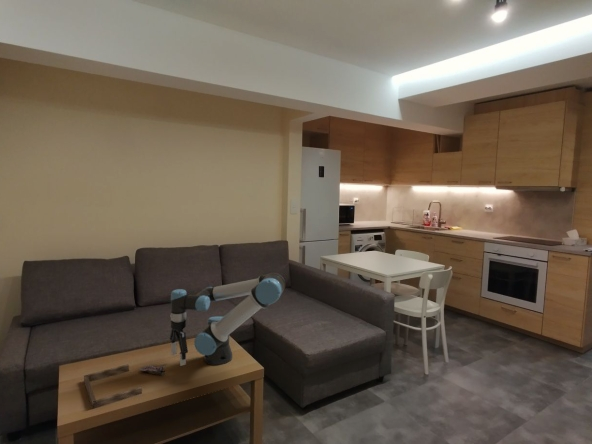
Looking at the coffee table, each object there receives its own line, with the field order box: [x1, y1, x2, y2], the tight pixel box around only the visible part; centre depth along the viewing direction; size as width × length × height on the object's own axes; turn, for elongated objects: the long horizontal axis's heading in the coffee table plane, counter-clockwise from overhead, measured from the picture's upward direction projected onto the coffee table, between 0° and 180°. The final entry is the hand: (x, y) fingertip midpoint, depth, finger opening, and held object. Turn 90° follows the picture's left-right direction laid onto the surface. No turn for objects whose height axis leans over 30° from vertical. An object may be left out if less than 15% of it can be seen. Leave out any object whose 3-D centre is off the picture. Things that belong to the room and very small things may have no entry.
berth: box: [83, 363, 143, 410], centre depth 164 cm, size 20×27×3 cm
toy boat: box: [139, 364, 167, 376], centre depth 178 cm, size 13×6×4 cm, turn 72°
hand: (178, 359), depth 182 cm, fingers open, 13 cm apart
